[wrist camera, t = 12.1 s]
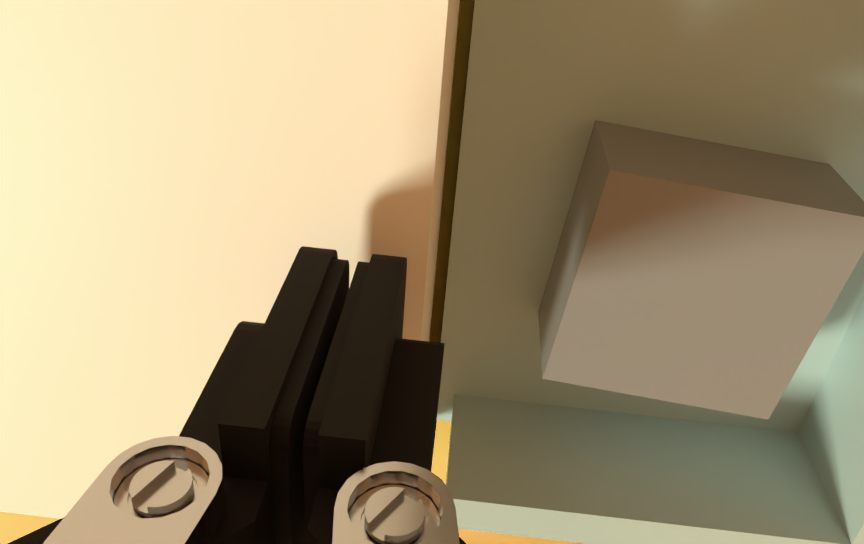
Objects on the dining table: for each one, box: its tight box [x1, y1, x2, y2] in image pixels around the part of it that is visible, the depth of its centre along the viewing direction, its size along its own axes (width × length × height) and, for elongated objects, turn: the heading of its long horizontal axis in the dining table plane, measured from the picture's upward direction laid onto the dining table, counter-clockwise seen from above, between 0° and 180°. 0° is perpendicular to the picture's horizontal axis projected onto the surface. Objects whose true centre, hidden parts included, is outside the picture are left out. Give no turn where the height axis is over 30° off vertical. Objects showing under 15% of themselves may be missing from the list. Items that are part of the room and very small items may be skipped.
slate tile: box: [538, 120, 864, 420], centre depth 16 cm, size 5×5×2 cm
